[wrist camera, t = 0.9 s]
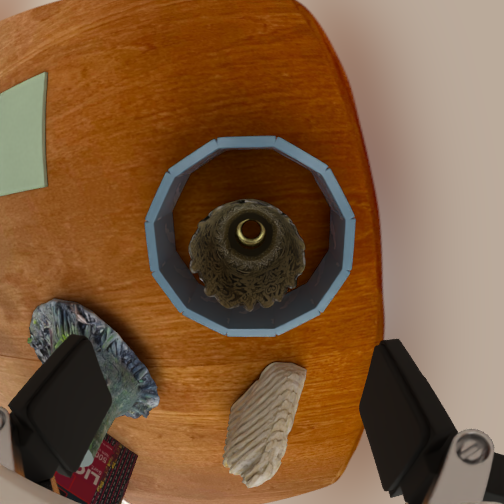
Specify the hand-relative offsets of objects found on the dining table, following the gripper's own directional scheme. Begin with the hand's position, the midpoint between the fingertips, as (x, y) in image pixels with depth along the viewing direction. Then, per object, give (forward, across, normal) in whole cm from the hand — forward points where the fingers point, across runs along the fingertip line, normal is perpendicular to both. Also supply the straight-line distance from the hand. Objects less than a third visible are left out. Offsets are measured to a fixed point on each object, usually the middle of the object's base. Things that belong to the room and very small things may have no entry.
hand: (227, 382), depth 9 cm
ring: (+19, 0, 0) cm, 19 cm away
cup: (+19, 0, 0) cm, 19 cm away
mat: (+19, +28, -12) cm, 36 cm away
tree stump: (+19, +21, +16) cm, 32 cm away
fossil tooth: (+19, -1, +20) cm, 28 cm away
